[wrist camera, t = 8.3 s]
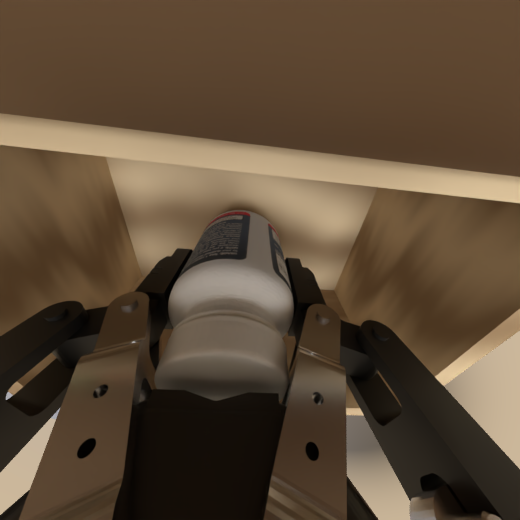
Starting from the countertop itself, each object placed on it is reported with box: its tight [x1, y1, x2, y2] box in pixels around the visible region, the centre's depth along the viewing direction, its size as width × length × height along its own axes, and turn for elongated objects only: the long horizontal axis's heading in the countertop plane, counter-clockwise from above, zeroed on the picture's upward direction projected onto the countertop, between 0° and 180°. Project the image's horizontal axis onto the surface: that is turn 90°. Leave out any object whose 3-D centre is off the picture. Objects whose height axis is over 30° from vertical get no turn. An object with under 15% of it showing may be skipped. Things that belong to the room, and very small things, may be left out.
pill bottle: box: [154, 210, 294, 401], centre depth 9 cm, size 5×5×9 cm
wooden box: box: [0, 113, 520, 415], centre depth 11 cm, size 14×21×11 cm, turn 84°
